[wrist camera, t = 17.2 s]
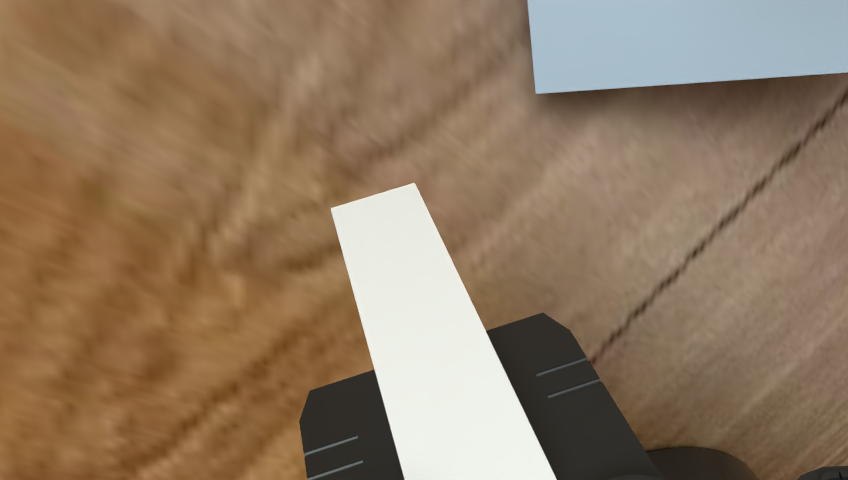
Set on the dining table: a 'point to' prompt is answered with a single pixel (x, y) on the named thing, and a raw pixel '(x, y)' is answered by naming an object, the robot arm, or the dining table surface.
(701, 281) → the dining table surface
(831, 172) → the dining table surface
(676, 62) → the domino
